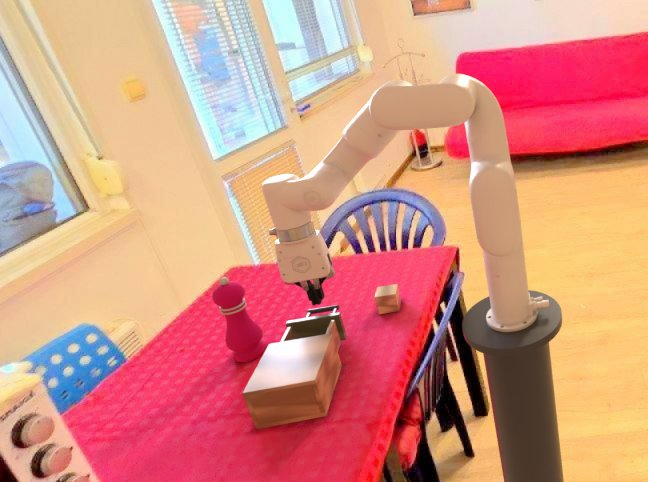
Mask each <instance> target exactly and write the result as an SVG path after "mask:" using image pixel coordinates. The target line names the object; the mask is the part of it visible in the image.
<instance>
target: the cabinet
mask: <svg viewBox="0 0 648 482" xmlns="http://www.w3.org/2000/svg"><path fill="white" fill-rule="evenodd" d="M342 368H343V365H342V361H341V357H340V355H339V350H337V347H336V344H335V340H334V337H333V333H330V334H324V335H318V336H312V337H307V338H301V339H295V340H289V341H283V342H280V341H277V342H271V343H269V344H268V345H267V347H266V348H265V351H264V352H263V353H262V356H261V358H260V360H259V362H258V363H257V365H256V367H255V369H254V371H253V372H252V374H251V376H250V378H249V380H248V382H247V384H246V386H245V387H244V389H243V391H242V397H243V399H244V402H245V404H246V406H247V409H248V412H249V415H250V417H251V421H252V423H253V425H254V429H255V430H261V429H266V428H271V427H276V426H283V425H288V424H292V423H297V422H298V423H299V422H302V421H308V420H312V419H313V420H314V419H318V418H319V419H320V418H324V417H327V415H328V412H329V408H330V405H331V403H332V399H333V396H334V393H335V389H336V386H337V383H338V380H339V377H340V375H341V370H342Z"/></svg>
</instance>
